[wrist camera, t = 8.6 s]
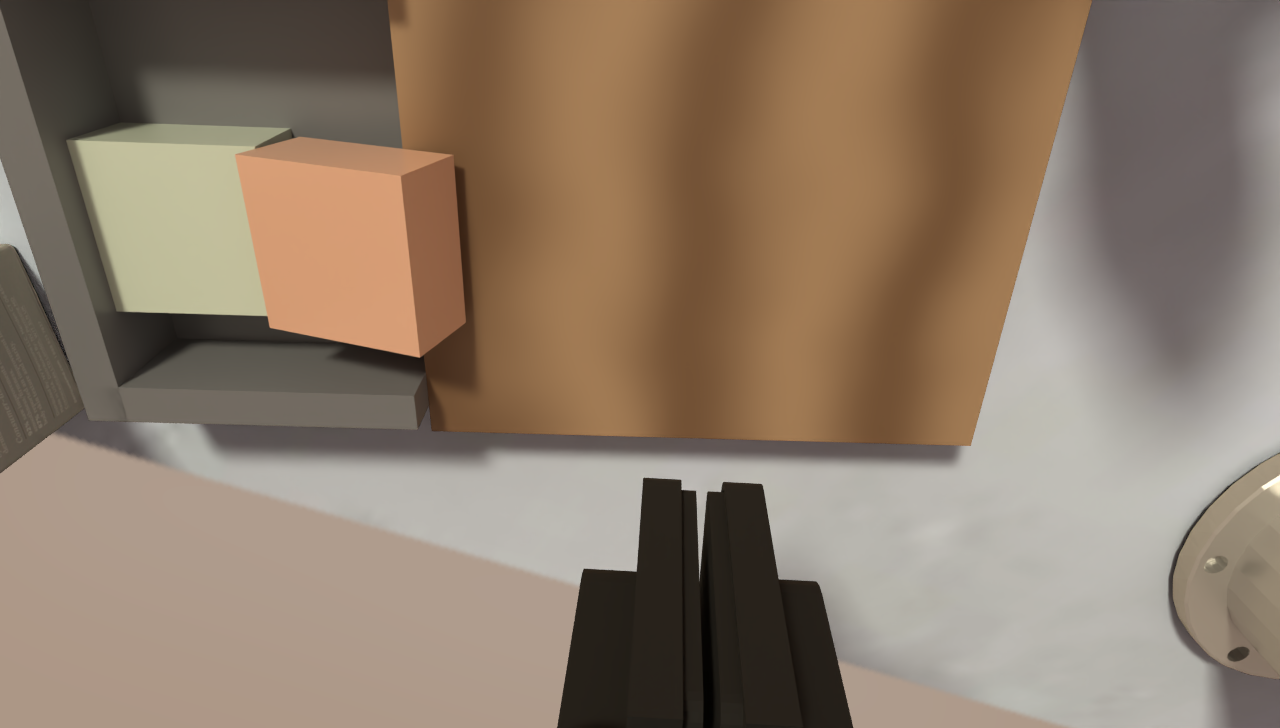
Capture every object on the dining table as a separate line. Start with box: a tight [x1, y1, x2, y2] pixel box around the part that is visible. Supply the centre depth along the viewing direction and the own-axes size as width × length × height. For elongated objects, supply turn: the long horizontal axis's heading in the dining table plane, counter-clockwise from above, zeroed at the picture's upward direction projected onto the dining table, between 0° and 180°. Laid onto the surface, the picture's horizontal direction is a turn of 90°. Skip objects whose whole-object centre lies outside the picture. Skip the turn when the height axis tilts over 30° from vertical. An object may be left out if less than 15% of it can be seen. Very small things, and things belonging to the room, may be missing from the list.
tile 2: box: [235, 137, 466, 358], centre depth 22 cm, size 5×5×2 cm
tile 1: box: [66, 122, 292, 316], centre depth 23 cm, size 5×5×2 cm
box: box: [0, 0, 429, 430], centre depth 23 cm, size 10×14×4 cm
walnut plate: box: [387, 0, 1092, 446], centre depth 24 cm, size 18×14×2 cm
